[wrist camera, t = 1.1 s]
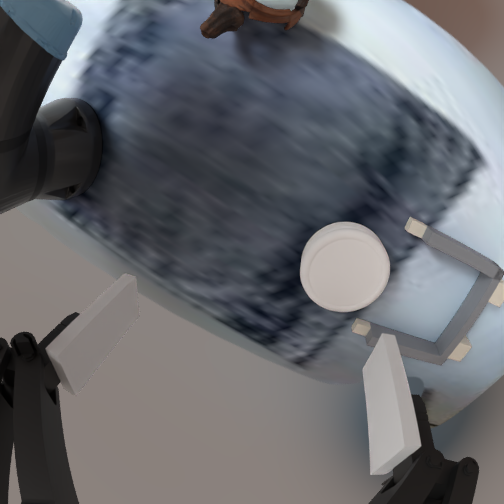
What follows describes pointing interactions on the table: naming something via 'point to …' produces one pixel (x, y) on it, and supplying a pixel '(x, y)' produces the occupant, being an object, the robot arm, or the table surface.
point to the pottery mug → (232, 18)
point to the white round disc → (344, 267)
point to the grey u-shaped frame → (454, 336)
